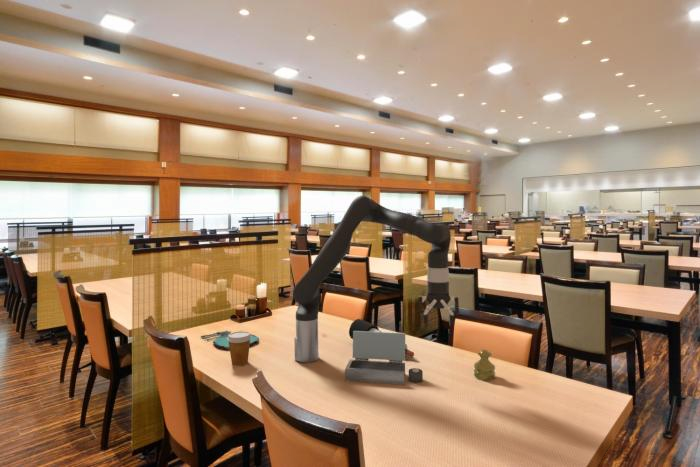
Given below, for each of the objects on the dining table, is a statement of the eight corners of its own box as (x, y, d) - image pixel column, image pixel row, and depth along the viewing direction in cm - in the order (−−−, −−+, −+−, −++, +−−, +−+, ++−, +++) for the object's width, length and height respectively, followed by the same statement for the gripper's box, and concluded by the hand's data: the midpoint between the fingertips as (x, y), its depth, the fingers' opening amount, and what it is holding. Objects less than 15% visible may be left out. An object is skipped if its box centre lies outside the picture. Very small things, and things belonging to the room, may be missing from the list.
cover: (353, 331, 154) (353, 330, 156) (352, 359, 153) (353, 358, 154) (405, 333, 150) (405, 333, 152) (405, 362, 149) (405, 361, 151)
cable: (407, 371, 164) (402, 353, 159) (352, 343, 188) (346, 327, 184) (422, 355, 169) (417, 337, 165) (366, 330, 193) (360, 314, 189)
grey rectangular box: (345, 380, 145) (345, 368, 144) (349, 370, 154) (349, 359, 154) (403, 384, 141) (403, 372, 141) (405, 374, 150) (405, 362, 150)
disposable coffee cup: (256, 360, 165) (256, 332, 164) (241, 369, 156) (240, 339, 155) (238, 357, 169) (237, 329, 168) (222, 365, 160) (221, 336, 159)
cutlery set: (227, 354, 174) (227, 349, 174) (196, 339, 194) (196, 335, 194) (266, 343, 188) (266, 338, 188) (232, 330, 209) (232, 326, 209)
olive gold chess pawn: (494, 374, 149) (495, 348, 149) (495, 382, 142) (495, 354, 142) (474, 371, 152) (474, 346, 151) (473, 379, 145) (473, 352, 144)
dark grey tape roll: (408, 382, 143) (408, 372, 142) (408, 377, 148) (408, 367, 147) (422, 383, 142) (422, 373, 142) (422, 377, 147) (422, 368, 146)
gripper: (457, 278, 144) (458, 322, 145) (417, 277, 146) (418, 321, 147) (459, 281, 136) (460, 328, 137) (417, 281, 139) (418, 327, 140)
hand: (438, 324), depth 142 cm, fingers open, 8 cm apart
